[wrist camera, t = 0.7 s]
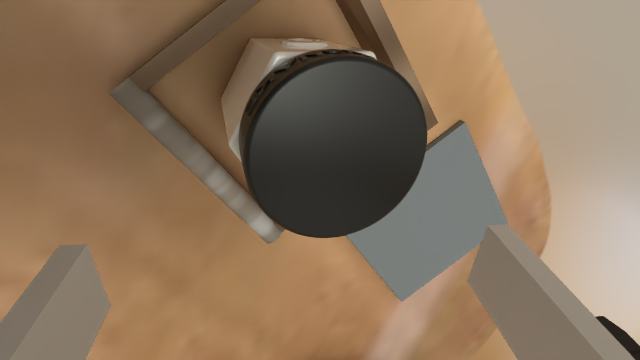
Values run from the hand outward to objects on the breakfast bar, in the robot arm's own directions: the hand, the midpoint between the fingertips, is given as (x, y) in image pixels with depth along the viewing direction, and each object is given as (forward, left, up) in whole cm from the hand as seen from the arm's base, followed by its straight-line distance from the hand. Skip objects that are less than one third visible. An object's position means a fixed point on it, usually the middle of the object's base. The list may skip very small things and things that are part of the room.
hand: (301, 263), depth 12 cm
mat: (+18, +7, -15) cm, 24 cm away
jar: (0, +3, -15) cm, 16 cm away
